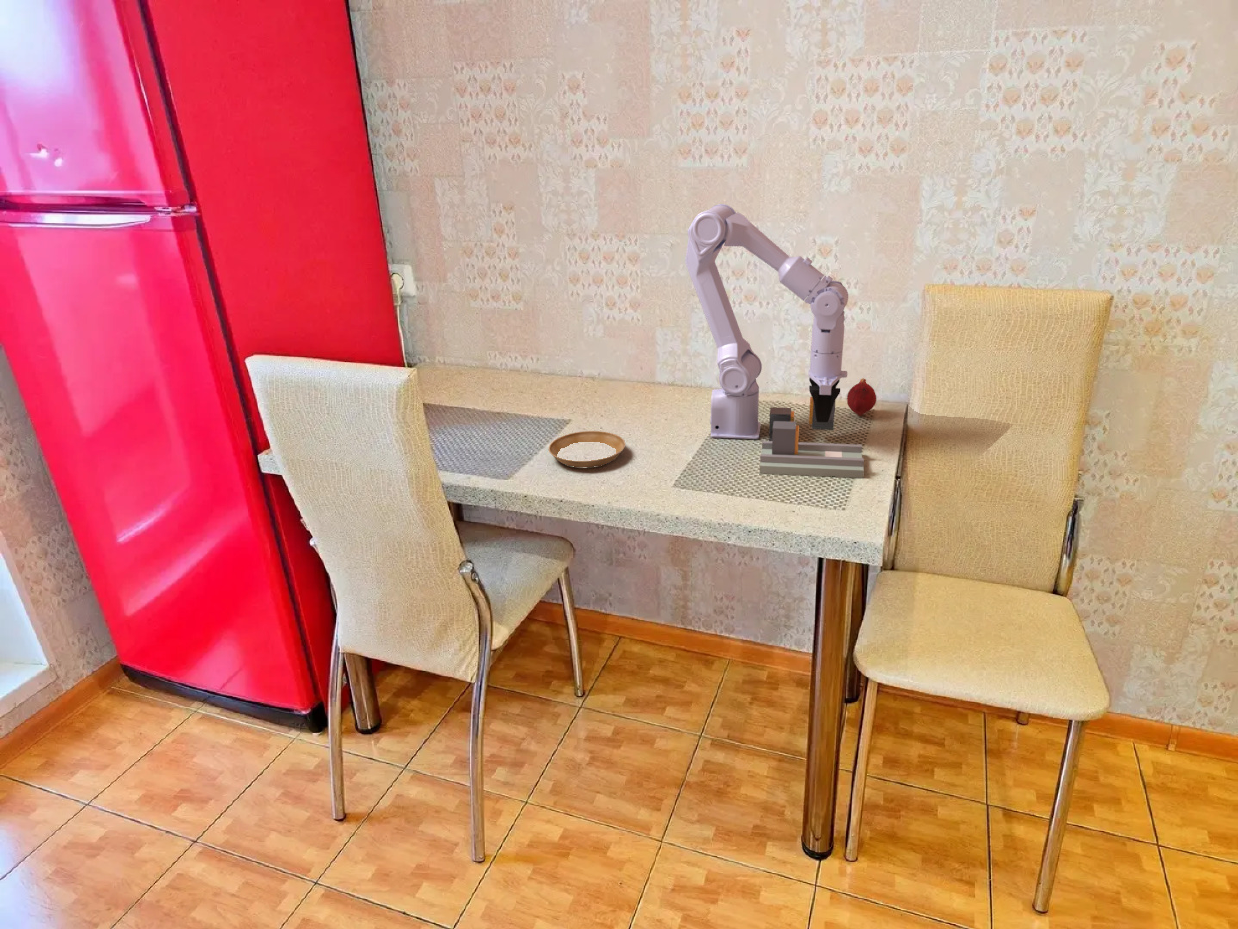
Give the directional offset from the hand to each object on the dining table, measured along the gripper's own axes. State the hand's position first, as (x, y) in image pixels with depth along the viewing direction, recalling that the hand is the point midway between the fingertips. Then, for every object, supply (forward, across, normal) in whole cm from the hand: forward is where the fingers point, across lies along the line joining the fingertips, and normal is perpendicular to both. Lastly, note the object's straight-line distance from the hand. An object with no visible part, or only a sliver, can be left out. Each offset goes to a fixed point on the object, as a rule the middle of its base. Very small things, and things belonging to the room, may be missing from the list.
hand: (822, 417), depth 158 cm
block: (+5, 0, +8) cm, 9 cm away
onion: (+5, +14, -8) cm, 17 cm away
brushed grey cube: (+2, 0, 0) cm, 2 cm away
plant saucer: (+6, -12, +44) cm, 46 cm away
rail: (+5, -11, +2) cm, 12 cm away
